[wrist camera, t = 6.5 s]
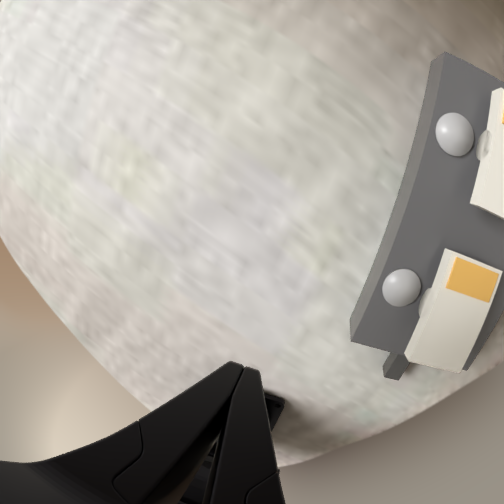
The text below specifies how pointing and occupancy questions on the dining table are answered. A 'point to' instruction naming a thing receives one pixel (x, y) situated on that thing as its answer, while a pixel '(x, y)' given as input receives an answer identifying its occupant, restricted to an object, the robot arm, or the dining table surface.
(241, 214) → the dining table surface
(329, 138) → the dining table surface
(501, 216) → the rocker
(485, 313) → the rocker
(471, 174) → the switch panel
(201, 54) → the dining table surface
